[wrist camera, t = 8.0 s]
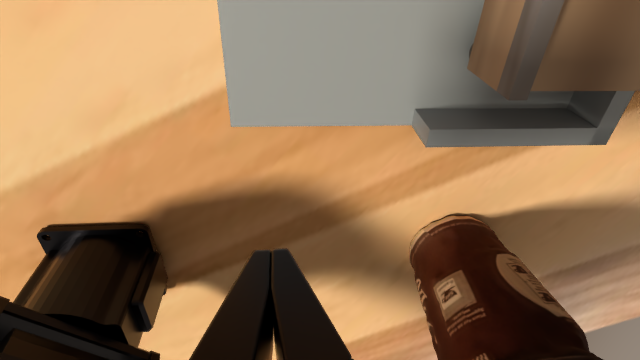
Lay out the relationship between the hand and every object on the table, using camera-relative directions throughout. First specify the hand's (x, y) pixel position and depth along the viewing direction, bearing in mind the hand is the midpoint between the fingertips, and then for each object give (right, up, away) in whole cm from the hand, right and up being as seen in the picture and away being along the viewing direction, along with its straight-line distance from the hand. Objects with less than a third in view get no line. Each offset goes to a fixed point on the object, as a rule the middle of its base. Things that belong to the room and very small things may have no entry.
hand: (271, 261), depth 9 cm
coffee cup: (+11, -3, +18) cm, 22 cm away
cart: (+12, +10, +9) cm, 18 cm away
